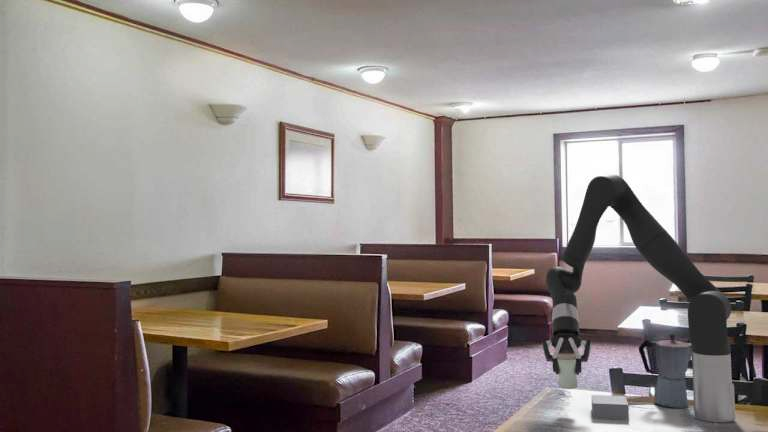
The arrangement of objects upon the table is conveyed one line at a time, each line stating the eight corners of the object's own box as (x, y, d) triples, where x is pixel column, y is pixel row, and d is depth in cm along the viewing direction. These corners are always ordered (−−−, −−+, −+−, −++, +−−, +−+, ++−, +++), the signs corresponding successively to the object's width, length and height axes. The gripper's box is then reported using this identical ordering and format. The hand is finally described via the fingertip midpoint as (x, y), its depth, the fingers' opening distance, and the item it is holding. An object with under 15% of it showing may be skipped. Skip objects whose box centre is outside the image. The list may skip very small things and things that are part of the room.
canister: (577, 384, 185) (576, 352, 185) (577, 389, 180) (576, 355, 180) (558, 384, 186) (556, 352, 187) (558, 388, 181) (556, 355, 182)
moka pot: (703, 409, 182) (700, 337, 183) (644, 408, 185) (641, 336, 186) (694, 400, 192) (691, 331, 192) (638, 399, 195) (635, 331, 195)
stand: (625, 410, 183) (625, 396, 184) (628, 419, 175) (628, 404, 175) (591, 409, 186) (591, 394, 186) (593, 418, 177) (592, 403, 177)
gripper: (539, 315, 193) (539, 365, 181) (590, 314, 189) (594, 365, 177) (540, 330, 198) (541, 380, 186) (591, 330, 194) (594, 381, 182)
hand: (567, 372), depth 182 cm, fingers closed on canister, 5 cm apart
